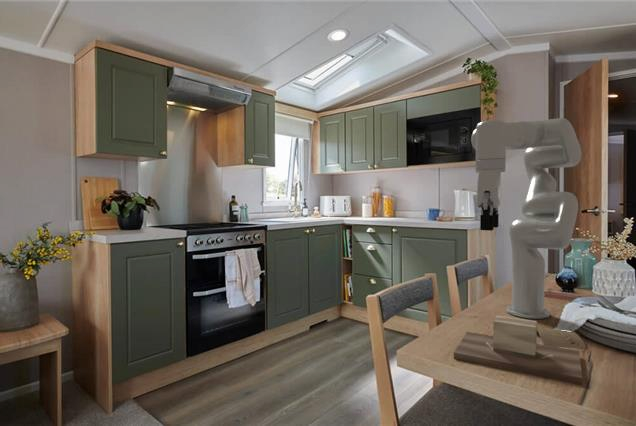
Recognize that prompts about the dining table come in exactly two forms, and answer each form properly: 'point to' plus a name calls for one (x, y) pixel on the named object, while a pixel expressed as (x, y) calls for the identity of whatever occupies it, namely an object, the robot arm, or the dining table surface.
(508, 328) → the cream carton
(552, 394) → the dining table surface
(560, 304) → the dining table surface
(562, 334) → the clay tablet
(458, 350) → the walnut board
